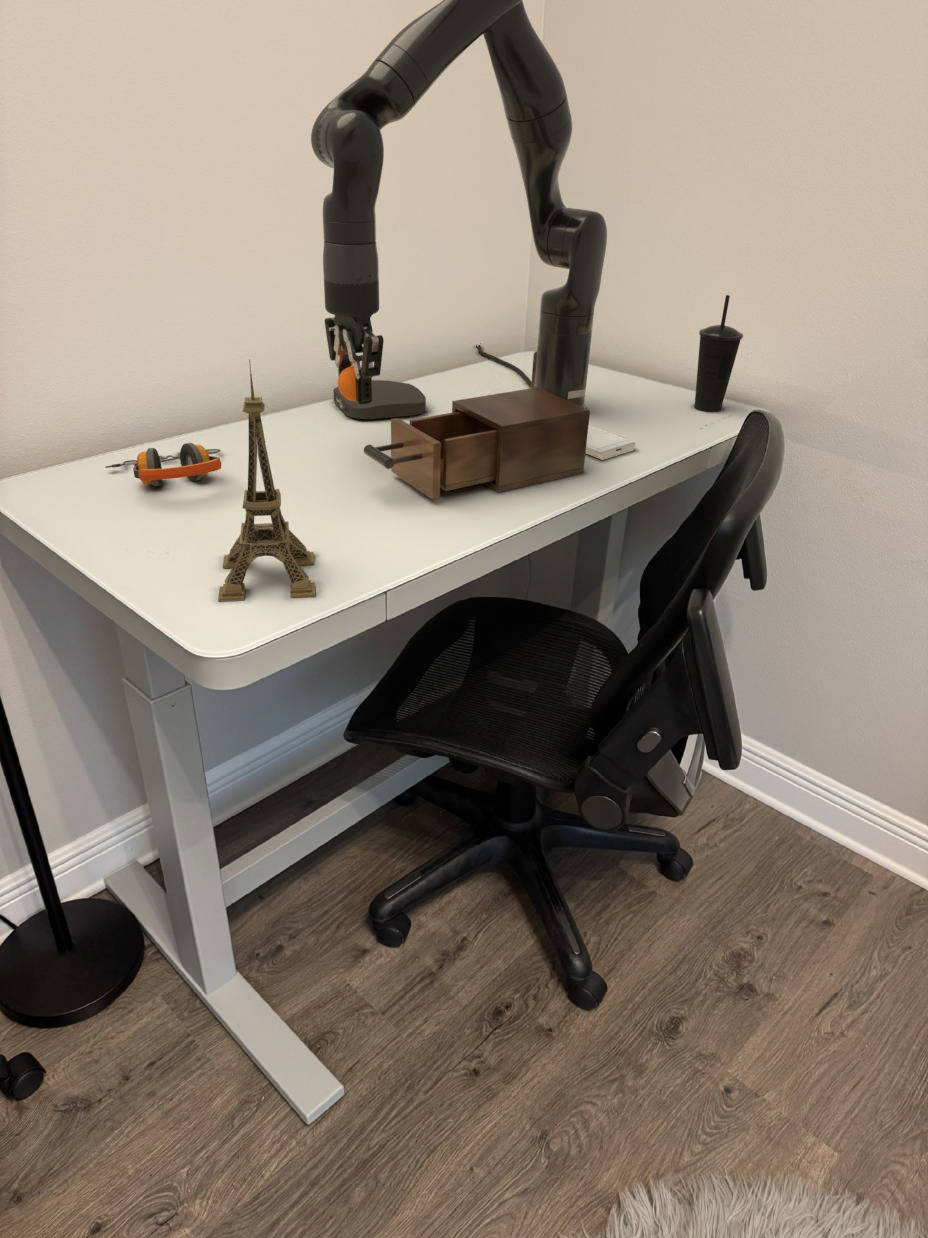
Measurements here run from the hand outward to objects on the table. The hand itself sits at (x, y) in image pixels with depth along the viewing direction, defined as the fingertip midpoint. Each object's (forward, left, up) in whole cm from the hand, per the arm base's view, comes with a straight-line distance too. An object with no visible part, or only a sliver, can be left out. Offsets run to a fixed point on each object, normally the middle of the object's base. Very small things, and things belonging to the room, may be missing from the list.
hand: (355, 397), depth 131 cm
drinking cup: (+6, +70, -10) cm, 71 cm away
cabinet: (+14, +20, -10) cm, 26 cm away
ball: (0, 0, +2) cm, 2 cm away
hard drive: (+11, +37, -10) cm, 40 cm away
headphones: (-6, -26, -10) cm, 29 cm away
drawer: (+14, +6, -9) cm, 18 cm away
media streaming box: (-22, +16, -10) cm, 29 cm away
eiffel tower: (+28, -26, -10) cm, 40 cm away
